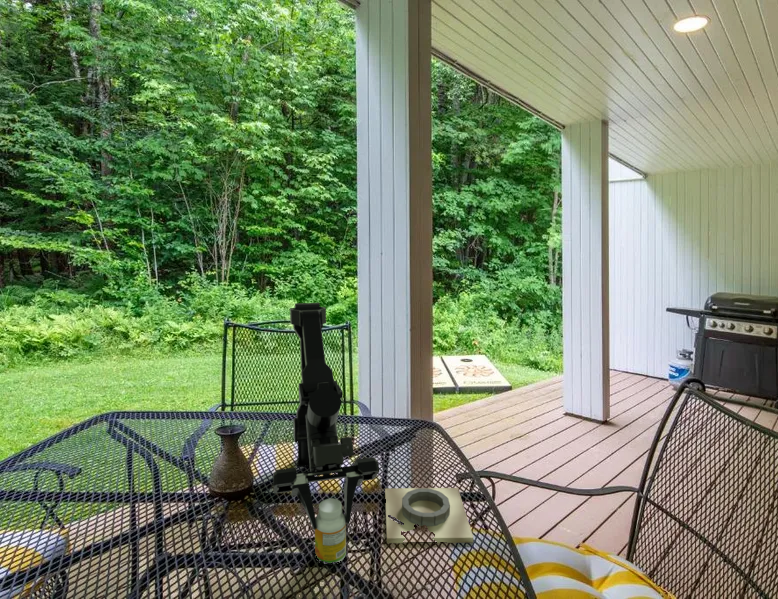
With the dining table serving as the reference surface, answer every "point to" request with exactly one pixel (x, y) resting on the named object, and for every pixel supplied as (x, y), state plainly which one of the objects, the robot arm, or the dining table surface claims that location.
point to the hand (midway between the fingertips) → (331, 526)
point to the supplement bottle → (330, 532)
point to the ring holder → (427, 513)
